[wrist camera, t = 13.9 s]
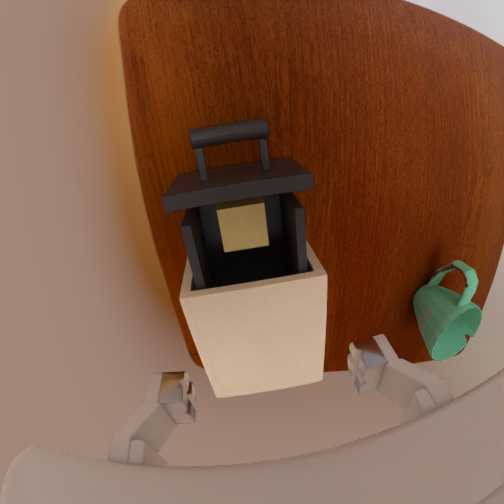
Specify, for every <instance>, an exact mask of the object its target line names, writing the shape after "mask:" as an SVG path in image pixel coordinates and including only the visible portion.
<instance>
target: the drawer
mask: <svg viewBox="0 0 504 504" xmlns="http://www.w3.org/2000/svg"><path fill="white" fill-rule="evenodd" d="M189 137H190V143H191V147H192V149H195V152H196V157H197V163H198V168H199V171H196V172H191V173H186V174H181V175H177V177H176V178H175V180H174V181H173V182H172V184H171V185H170V187H169V188H168V189H167V191H166V192H165V194H164V195H163V197H162V201H163V205H164V210H165V213H167V212H172V211H177V210H182V209H187V210H186V213H185V216H184V218H183V221H182V224H181V227H180V228H181V232H182V236H183V240H184V244H185V248H186V252H187V255H188V259H189V263H190V267H191V270H192V274H193V278H194V281H195V285H196V288H197V290H203V289H209V288H216V287H222V286H229V285H235V284H241V283H248V282H254V281H260V280H266V279H272V278H278V277H283V276H289V275H295V274H301V273H306V272H307V247H306V228H305V211H304V207H303V205H302V204H301V203H300V202H299V201H298V199H297V198H296V197H295V196H294V195H293V194H292V192H295V191H303V190H311V189H314V177H313V173H311V172H310V171H308V170H307V169H306V168H304V167H303V166H301V165H300V164H298V163H297V162H295V161H294V160H292V159H291V158H281V159H273V160H269V155H268V147H267V139H266V138H268V137H269V127H268V122H267V119H266V118H263V119H254V120H246V121H239V122H232V123H226V124H219V125H214V126H208V127H202V128H197V129H192V130H189ZM253 139H258V141H259V149H260V157H261V161H257V162H250V163H243V164H237V165H231V166H224V167H218V168H213V169H207V167H206V161H205V156H204V150H203V147H208V146H214V145H220V144H226V143H232V142H239V141H246V140H253ZM259 196H261V197H262V199H263V201H264V205H265V213H266V222H267V230H268V239H269V245H268V246H262V247H255V248H249V249H243V250H237V251H231V252H224V247H223V242H222V237H221V232H220V227H219V221H218V216H217V211H216V210H217V203H221V202H227V201H234V200H240V199H246V198H253V197H259Z"/></svg>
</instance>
